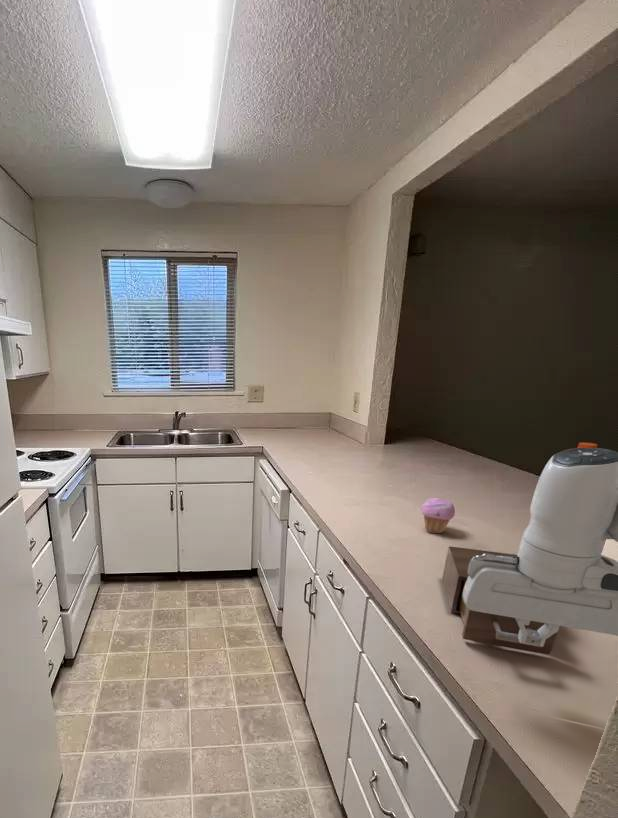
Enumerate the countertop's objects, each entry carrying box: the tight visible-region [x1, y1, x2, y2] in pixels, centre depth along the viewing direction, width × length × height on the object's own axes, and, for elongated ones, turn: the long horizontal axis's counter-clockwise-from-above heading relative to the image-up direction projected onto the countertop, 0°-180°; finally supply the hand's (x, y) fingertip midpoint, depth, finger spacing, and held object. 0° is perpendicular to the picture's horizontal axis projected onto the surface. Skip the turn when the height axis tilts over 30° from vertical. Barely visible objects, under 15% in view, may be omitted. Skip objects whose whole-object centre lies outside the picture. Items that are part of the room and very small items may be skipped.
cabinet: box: [441, 545, 517, 616], centre depth 91 cm, size 15×15×9 cm
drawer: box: [457, 580, 558, 656], centre depth 80 cm, size 18×13×7 cm
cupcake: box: [421, 497, 456, 534], centre depth 126 cm, size 9×9×10 cm
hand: (529, 642), depth 66 cm, fingers closed
